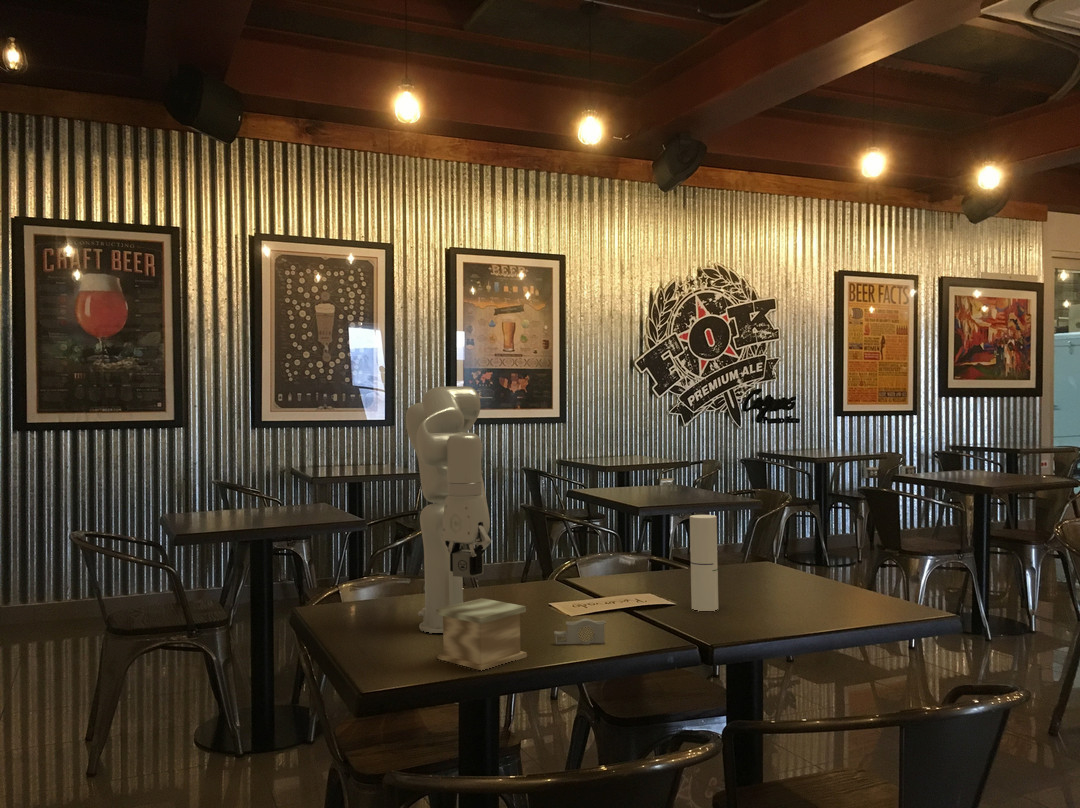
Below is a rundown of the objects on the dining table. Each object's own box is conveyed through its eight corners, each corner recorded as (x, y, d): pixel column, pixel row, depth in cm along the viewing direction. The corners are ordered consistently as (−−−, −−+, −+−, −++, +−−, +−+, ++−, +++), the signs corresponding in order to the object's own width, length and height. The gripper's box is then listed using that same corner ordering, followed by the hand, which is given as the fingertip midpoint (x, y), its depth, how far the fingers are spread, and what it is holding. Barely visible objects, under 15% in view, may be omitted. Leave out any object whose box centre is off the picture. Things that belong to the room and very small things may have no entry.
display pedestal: (437, 659, 197) (436, 609, 198) (482, 646, 208) (482, 598, 208) (481, 671, 188) (480, 618, 188) (527, 656, 198) (526, 606, 198)
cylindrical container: (686, 607, 244) (685, 515, 244) (710, 605, 246) (708, 514, 246) (699, 612, 237) (697, 518, 237) (723, 610, 240) (721, 517, 240)
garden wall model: (554, 645, 208) (554, 619, 208) (554, 643, 210) (553, 618, 210) (606, 644, 208) (605, 618, 208) (605, 642, 210) (604, 616, 210)
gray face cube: (473, 577, 194) (472, 554, 194) (452, 576, 196) (452, 553, 196) (483, 573, 199) (483, 550, 199) (463, 571, 201) (463, 549, 201)
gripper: (426, 489, 201) (428, 570, 201) (478, 494, 189) (479, 579, 189) (452, 487, 206) (453, 565, 206) (504, 491, 194) (505, 574, 194)
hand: (466, 571), depth 197 cm, fingers closed on gray face cube, 5 cm apart
